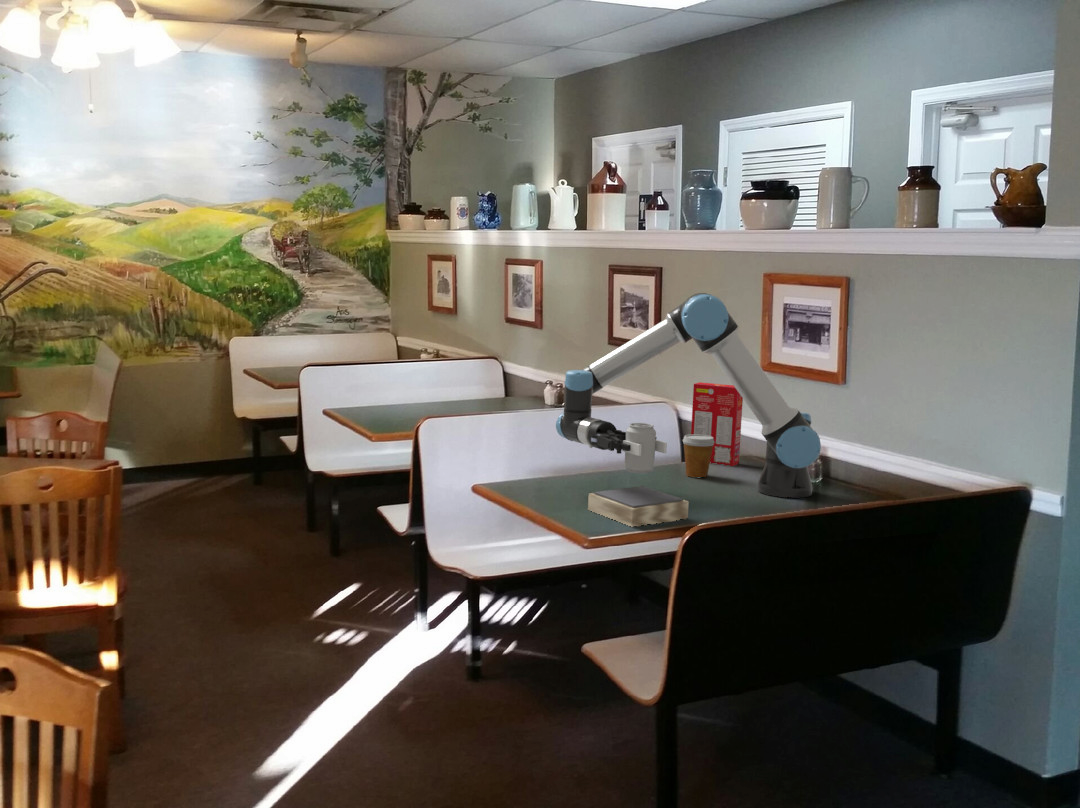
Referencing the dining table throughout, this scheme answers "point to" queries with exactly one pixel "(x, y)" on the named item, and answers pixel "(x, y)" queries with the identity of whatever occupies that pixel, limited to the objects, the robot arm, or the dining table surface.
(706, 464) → the disposable coffee cup
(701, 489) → the dining table surface
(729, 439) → the food packaging
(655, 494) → the dock
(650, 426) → the can
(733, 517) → the dining table surface
